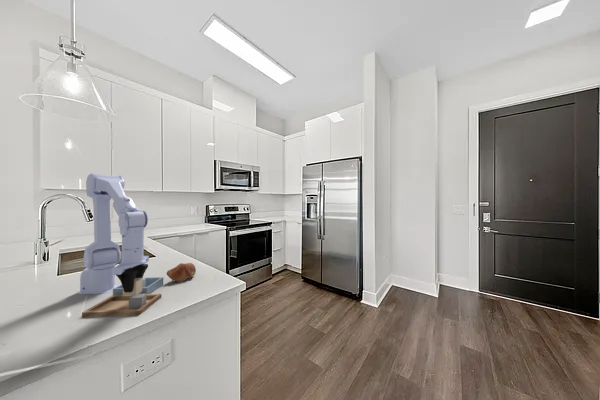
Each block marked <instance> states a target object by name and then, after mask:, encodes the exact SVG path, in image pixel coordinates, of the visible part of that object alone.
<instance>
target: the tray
mask: <svg viewBox="0 0 600 400" xmlns="http://www.w3.org/2000/svg"><path fill="white" fill-rule="evenodd" d="M131 296H132V295H113V294H112V295H111V296H109V297H107V298H105V299H103V300H102V301H100V302H98V303H96V304H95V305H93V306H91V307H90V308H88V309H86V310H84V311H82V312H81V317H82V318H87V317H92V318H93V317H113V316H114V317H118V316H119V317H120V316H121V317H122V316H140V315H142V314H143V313H144V312H145V311H147V309H150V307H152V306H153V305H154V304H155V303H157V302H158V301H159V300H160V299H161V298H162V293H151V294H146V304H145V305H143V306H142V307H141V308H139V309H129V298H130V297H131Z"/></svg>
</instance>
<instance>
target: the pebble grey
mask: <svg viewBox="0 0 600 400" xmlns="http://www.w3.org/2000/svg"><path fill="white" fill-rule="evenodd" d="M146 278H147V277H143V281H142V288H145V287H146Z"/></svg>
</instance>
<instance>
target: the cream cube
mask: <svg viewBox="0 0 600 400" xmlns="http://www.w3.org/2000/svg"><path fill="white" fill-rule="evenodd" d="M143 278H144V277H143ZM143 278H135V280H134V288H133V291H132V292H124V289H123V295H133V294H139V293H140V292H142V281H143Z"/></svg>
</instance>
